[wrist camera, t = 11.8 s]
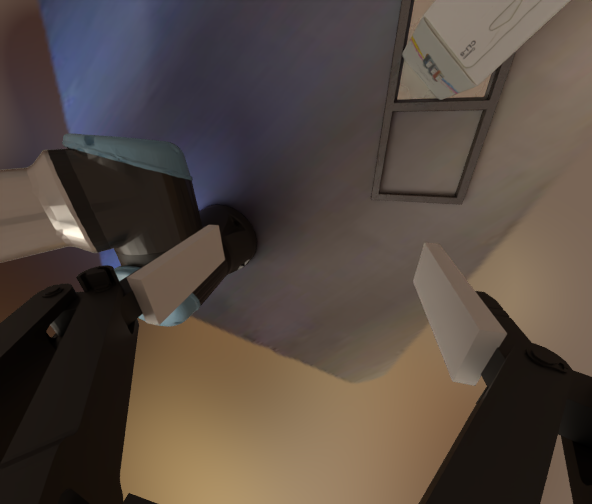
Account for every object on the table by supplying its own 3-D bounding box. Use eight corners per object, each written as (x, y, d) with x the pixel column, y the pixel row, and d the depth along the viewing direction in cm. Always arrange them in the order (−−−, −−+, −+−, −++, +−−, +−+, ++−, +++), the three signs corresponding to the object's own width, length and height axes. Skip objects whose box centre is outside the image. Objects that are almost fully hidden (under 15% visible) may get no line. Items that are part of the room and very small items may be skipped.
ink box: (461, -22, 26) (530, -119, 16) (505, 38, 27) (594, -17, 17) (398, 54, 30) (420, 16, 20) (438, 103, 32) (478, 89, 21)
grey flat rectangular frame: (370, 198, 40) (371, 199, 39) (405, -25, 27) (407, -31, 26) (459, 202, 37) (461, 204, 36) (544, -44, 24) (551, -50, 23)
